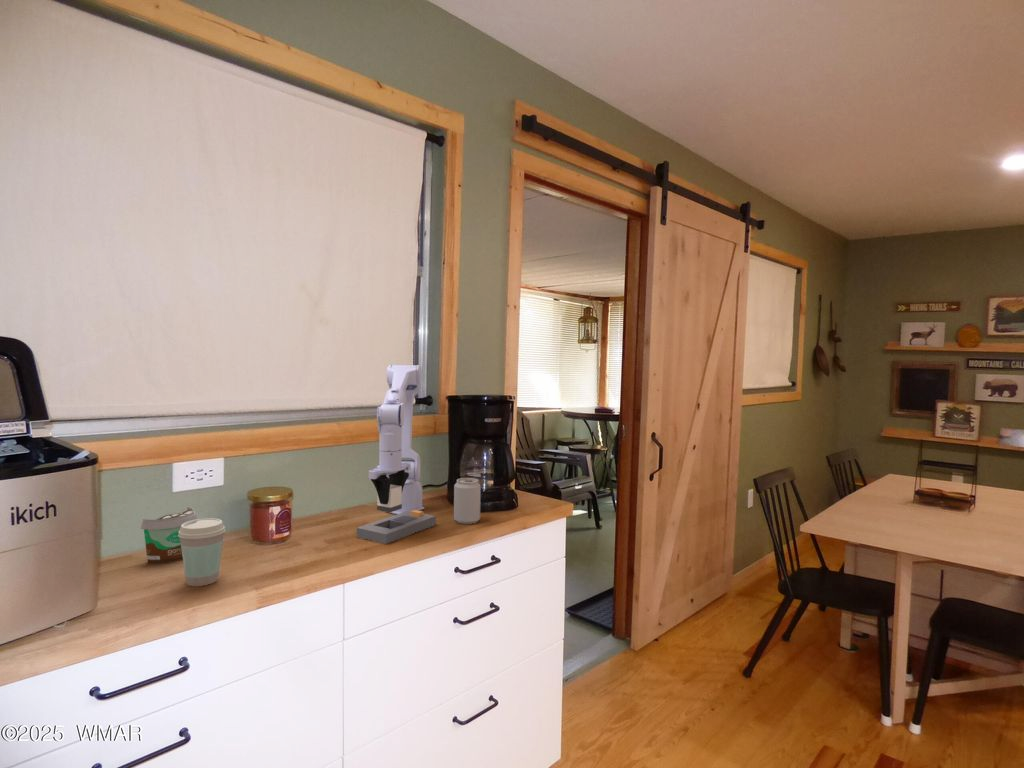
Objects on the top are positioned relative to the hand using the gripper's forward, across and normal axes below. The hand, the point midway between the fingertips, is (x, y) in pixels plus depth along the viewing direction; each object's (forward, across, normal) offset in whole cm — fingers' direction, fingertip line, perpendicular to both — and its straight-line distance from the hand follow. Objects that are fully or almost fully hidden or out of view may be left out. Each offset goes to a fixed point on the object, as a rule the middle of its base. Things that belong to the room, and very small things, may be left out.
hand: (390, 501), depth 153 cm
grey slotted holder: (+8, -3, 0) cm, 9 cm away
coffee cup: (+9, +45, -12) cm, 47 cm away
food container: (+9, +39, -30) cm, 50 cm away
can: (+9, -21, +11) cm, 25 cm away
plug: (+2, 0, 0) cm, 2 cm away
